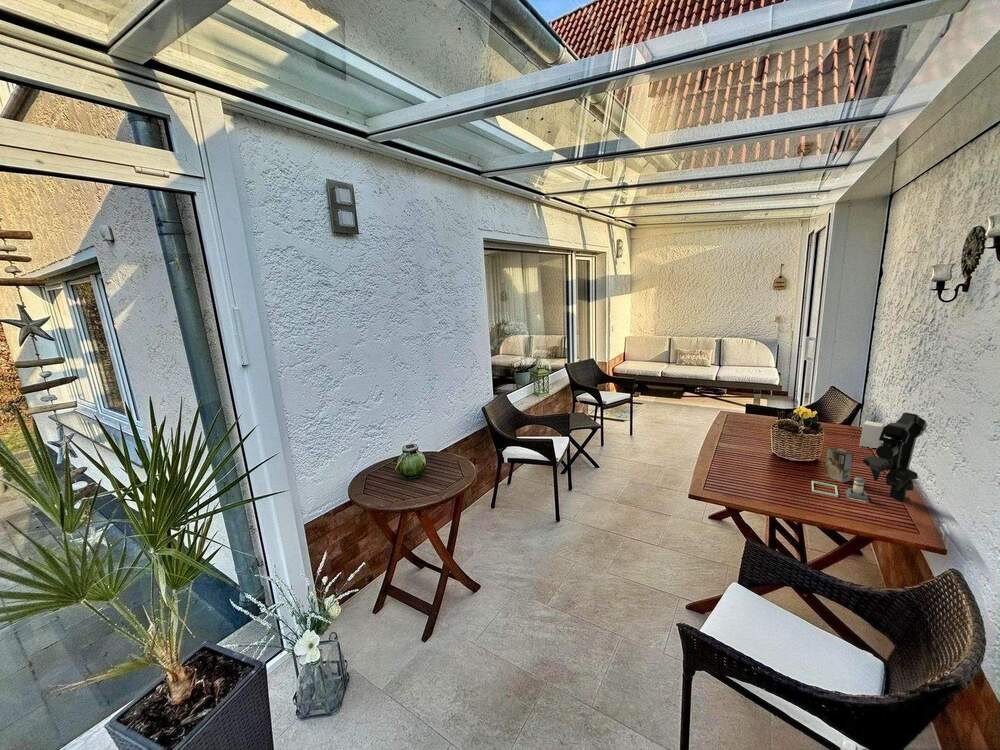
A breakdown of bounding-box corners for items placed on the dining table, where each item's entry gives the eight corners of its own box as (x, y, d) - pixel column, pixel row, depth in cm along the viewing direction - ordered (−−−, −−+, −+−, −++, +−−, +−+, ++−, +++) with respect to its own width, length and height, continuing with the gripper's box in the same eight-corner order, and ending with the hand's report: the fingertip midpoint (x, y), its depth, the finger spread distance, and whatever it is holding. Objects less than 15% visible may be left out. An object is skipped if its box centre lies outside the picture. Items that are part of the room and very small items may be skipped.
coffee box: (850, 481, 216) (854, 453, 212) (842, 484, 214) (846, 455, 210) (831, 474, 224) (835, 446, 221) (823, 476, 222) (827, 448, 219)
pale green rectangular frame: (811, 483, 215) (811, 480, 215) (835, 488, 209) (836, 485, 209) (812, 493, 205) (812, 490, 205) (837, 498, 200) (838, 495, 199)
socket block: (845, 491, 206) (845, 486, 206) (866, 495, 202) (867, 490, 201) (846, 499, 198) (847, 494, 198) (868, 504, 194) (869, 499, 193)
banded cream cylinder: (851, 493, 203) (854, 476, 201) (861, 495, 200) (864, 478, 199) (852, 496, 200) (854, 479, 198) (862, 498, 197) (865, 481, 196)
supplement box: (878, 450, 253) (882, 427, 250) (859, 446, 260) (862, 423, 257) (881, 446, 258) (885, 423, 255) (862, 442, 265) (866, 420, 262)
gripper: (855, 446, 190) (850, 477, 193) (899, 463, 172) (893, 497, 175) (876, 444, 191) (871, 475, 195) (921, 460, 173) (915, 494, 177)
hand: (886, 485), depth 185 cm, fingers open, 9 cm apart
